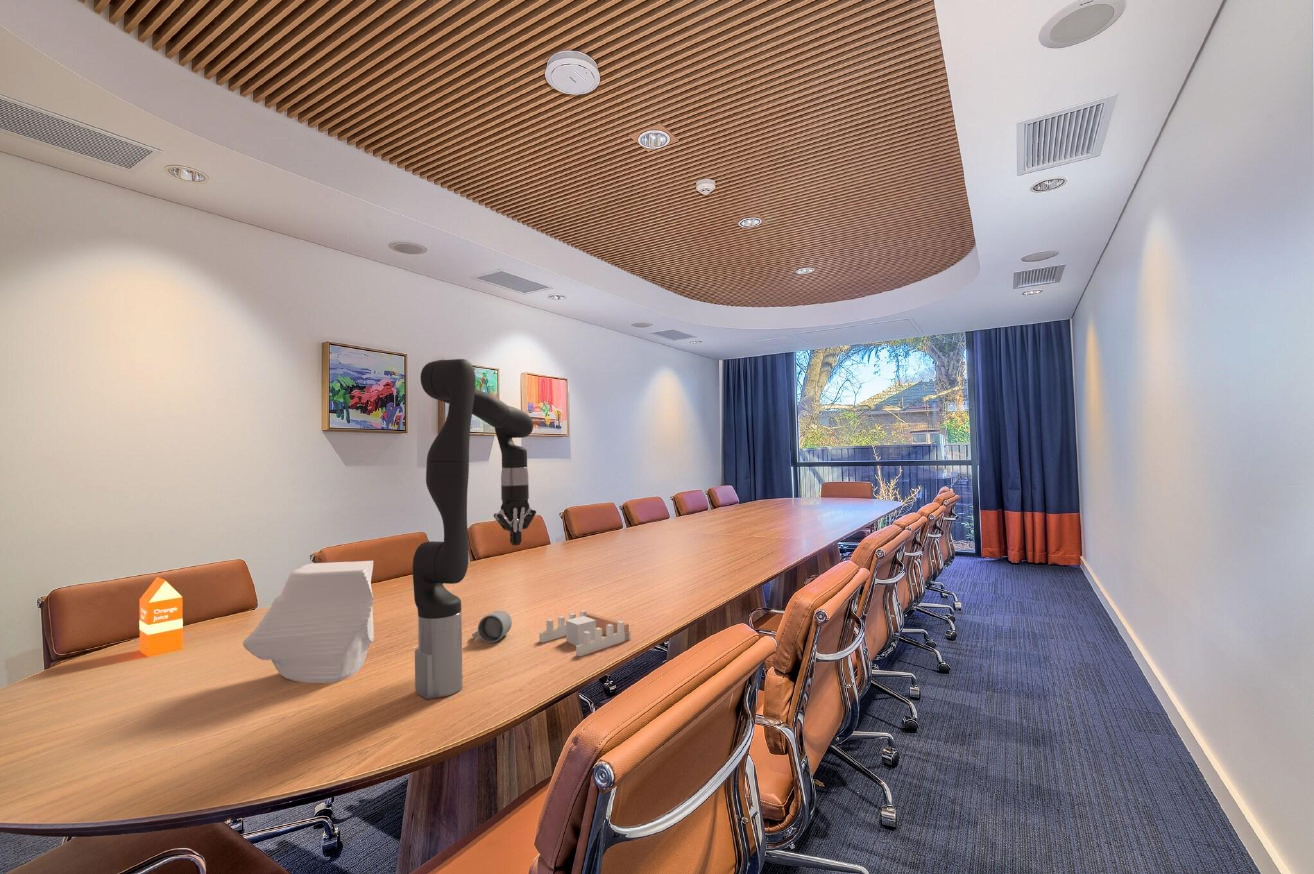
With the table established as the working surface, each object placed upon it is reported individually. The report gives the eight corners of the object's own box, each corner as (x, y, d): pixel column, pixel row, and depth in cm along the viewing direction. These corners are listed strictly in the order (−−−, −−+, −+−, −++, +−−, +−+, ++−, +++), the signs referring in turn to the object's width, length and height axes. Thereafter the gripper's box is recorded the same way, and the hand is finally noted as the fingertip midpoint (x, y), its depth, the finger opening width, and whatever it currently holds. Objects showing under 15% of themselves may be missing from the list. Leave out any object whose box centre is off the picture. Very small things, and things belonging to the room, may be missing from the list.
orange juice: (147, 657, 158) (147, 582, 159) (139, 651, 163) (138, 579, 164) (183, 649, 164) (183, 577, 165) (174, 643, 170) (173, 574, 170)
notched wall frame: (580, 656, 151) (579, 635, 151) (539, 641, 164) (539, 622, 164) (630, 639, 164) (630, 619, 164) (589, 626, 177) (589, 608, 177)
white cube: (596, 642, 163) (595, 620, 163) (578, 647, 159) (577, 624, 159) (584, 636, 168) (584, 615, 168) (566, 641, 164) (565, 620, 164)
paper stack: (358, 684, 136) (356, 573, 137) (239, 688, 135) (238, 577, 136) (395, 652, 157) (393, 556, 158) (292, 656, 156) (291, 559, 157)
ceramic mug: (513, 634, 171) (513, 607, 172) (503, 643, 163) (502, 615, 163) (479, 634, 172) (478, 608, 173) (467, 643, 164) (466, 615, 164)
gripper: (501, 485, 158) (502, 549, 158) (542, 482, 167) (543, 543, 167) (486, 484, 163) (487, 546, 163) (527, 481, 173) (528, 540, 172)
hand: (515, 545), depth 165 cm, fingers closed
